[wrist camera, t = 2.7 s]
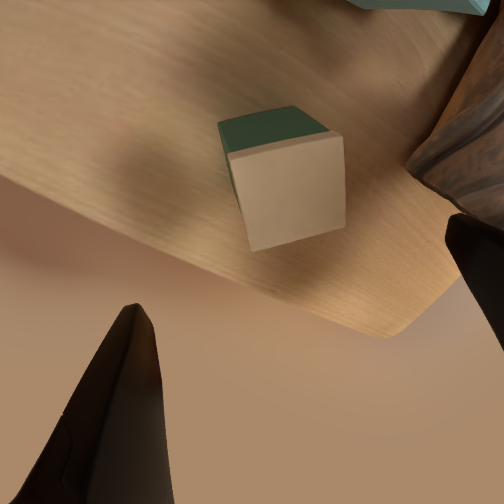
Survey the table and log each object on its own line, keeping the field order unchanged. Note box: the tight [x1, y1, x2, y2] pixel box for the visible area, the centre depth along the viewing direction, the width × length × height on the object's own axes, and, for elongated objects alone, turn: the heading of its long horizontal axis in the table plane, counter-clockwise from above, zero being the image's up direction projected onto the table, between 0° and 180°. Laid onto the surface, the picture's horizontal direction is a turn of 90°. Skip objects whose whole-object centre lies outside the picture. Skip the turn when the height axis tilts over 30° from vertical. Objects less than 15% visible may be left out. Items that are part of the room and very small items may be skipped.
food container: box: [217, 106, 346, 252], centre depth 15 cm, size 5×5×6 cm
